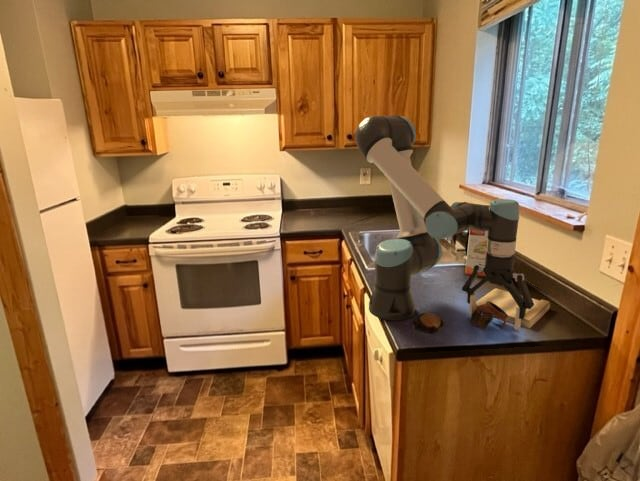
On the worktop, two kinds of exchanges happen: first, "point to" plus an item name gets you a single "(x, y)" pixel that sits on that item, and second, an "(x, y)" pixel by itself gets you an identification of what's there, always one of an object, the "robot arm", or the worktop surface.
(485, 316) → the pottery mug
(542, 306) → the folded beige towel
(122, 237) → the worktop surface
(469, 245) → the cracker box
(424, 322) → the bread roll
